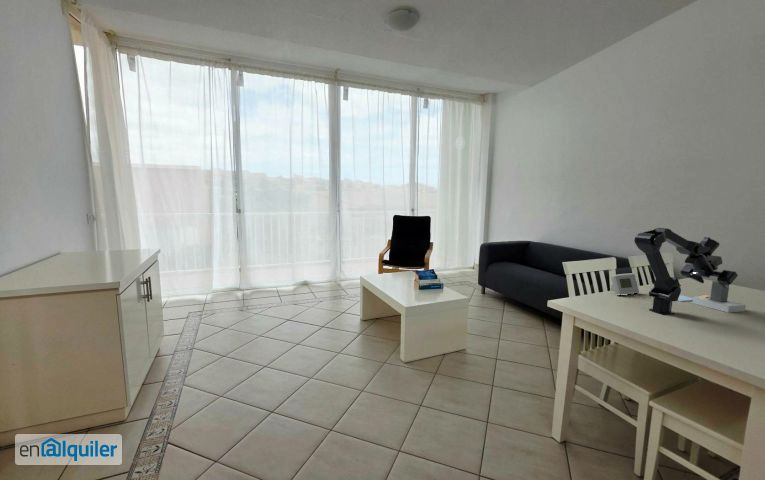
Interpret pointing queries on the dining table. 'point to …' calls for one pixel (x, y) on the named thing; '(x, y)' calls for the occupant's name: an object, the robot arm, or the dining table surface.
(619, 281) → the digital clock
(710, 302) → the white flat block
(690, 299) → the pad
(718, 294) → the plug
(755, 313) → the dining table surface
